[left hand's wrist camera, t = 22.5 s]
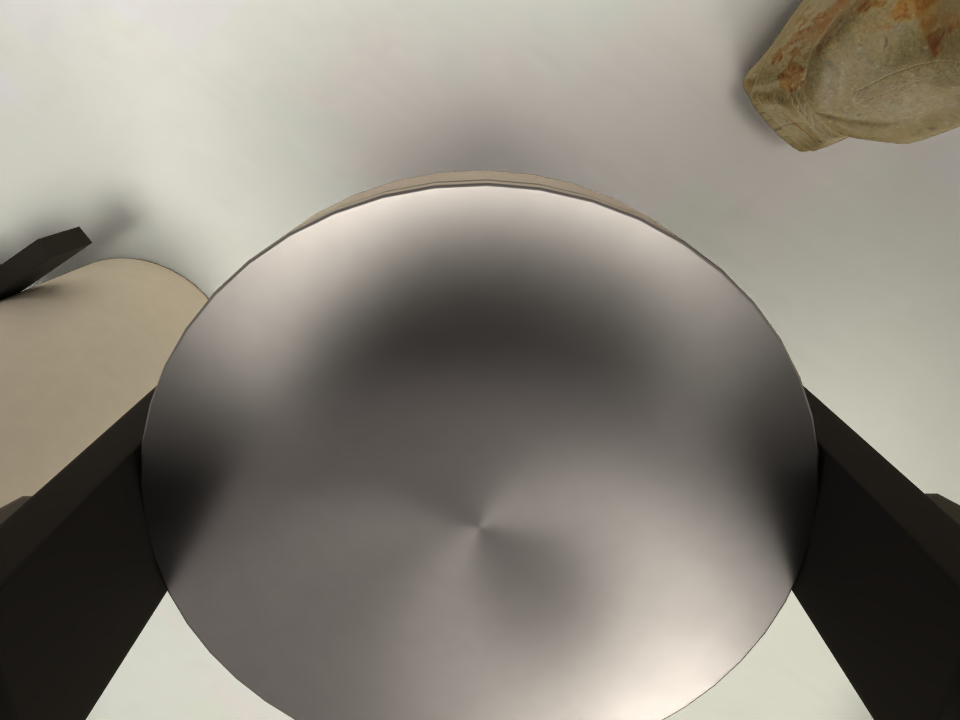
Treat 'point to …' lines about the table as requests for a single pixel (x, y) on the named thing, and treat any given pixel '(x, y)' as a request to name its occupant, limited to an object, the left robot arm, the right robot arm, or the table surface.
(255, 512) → the lid
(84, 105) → the table surface
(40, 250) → the right robot arm
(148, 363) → the jar
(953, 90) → the sculpture
